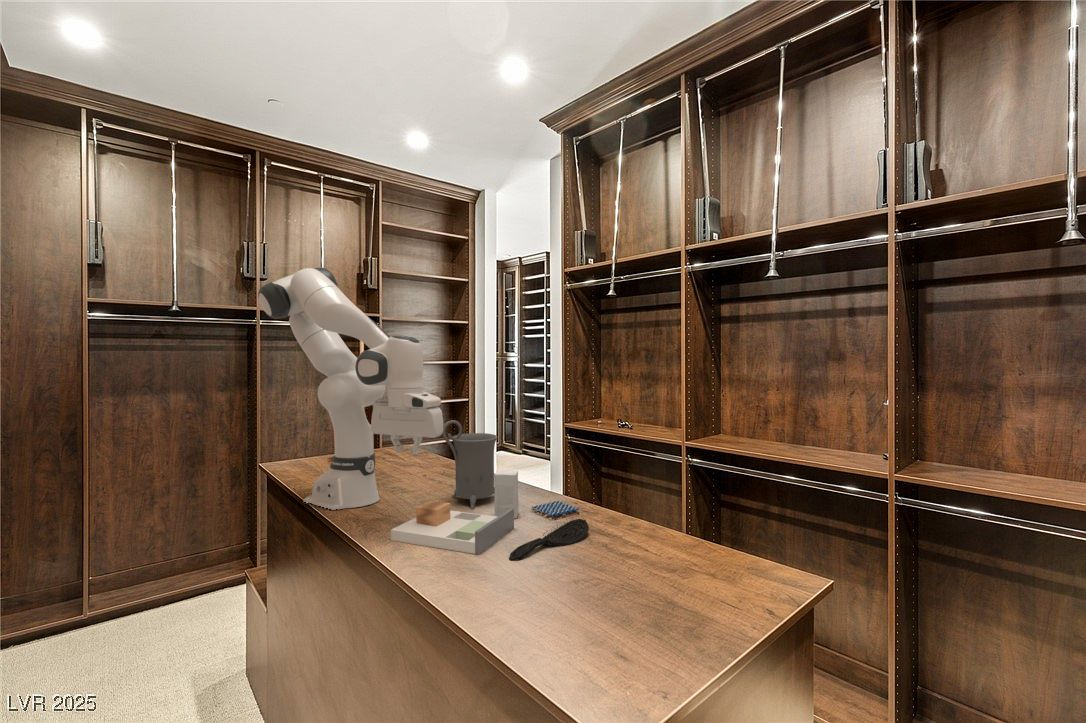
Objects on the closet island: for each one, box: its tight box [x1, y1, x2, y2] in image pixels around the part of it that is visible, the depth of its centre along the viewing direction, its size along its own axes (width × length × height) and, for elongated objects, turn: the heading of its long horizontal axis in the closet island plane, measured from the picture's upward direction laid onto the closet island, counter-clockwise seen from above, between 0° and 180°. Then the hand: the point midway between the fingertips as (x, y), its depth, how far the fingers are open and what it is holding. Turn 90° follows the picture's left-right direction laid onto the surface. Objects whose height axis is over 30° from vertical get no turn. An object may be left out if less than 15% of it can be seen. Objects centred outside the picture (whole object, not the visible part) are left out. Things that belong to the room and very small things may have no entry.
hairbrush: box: [508, 515, 590, 562], centre depth 118 cm, size 8×4×25 cm
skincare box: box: [494, 470, 520, 520], centre depth 139 cm, size 6×4×12 cm
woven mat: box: [530, 500, 581, 521], centre depth 142 cm, size 10×11×2 cm
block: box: [415, 500, 451, 526], centre depth 127 cm, size 6×6×4 cm
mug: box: [441, 420, 498, 510], centre depth 153 cm, size 19×15×25 cm
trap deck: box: [390, 508, 515, 555], centre depth 125 cm, size 24×18×5 cm
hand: (406, 452), depth 130 cm, fingers open, 3 cm apart
